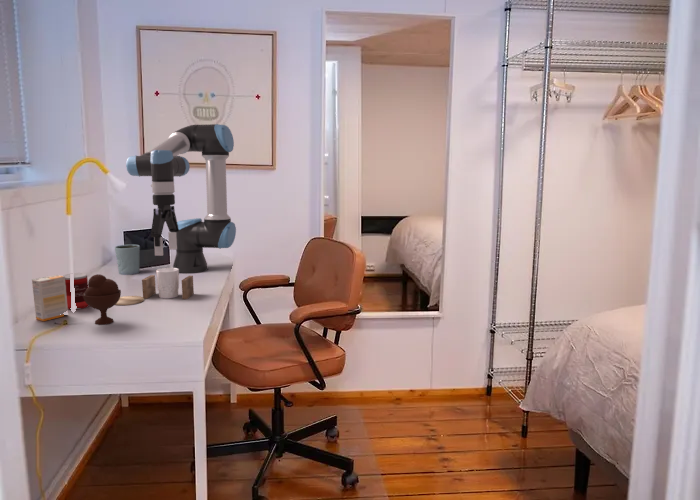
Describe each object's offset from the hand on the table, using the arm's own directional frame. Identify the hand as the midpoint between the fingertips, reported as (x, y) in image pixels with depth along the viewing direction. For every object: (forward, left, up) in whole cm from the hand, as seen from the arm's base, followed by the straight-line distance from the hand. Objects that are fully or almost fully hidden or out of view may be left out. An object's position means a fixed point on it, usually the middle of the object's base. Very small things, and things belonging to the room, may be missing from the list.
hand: (166, 252), depth 200 cm
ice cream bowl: (+33, -8, -17) cm, 38 cm away
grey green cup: (-40, -33, -17) cm, 55 cm away
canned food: (+16, -26, -17) cm, 35 cm away
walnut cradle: (0, 0, -16) cm, 16 cm away
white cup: (0, 0, -17) cm, 17 cm away
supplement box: (+29, -27, -17) cm, 43 cm away
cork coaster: (+8, -12, -16) cm, 22 cm away
